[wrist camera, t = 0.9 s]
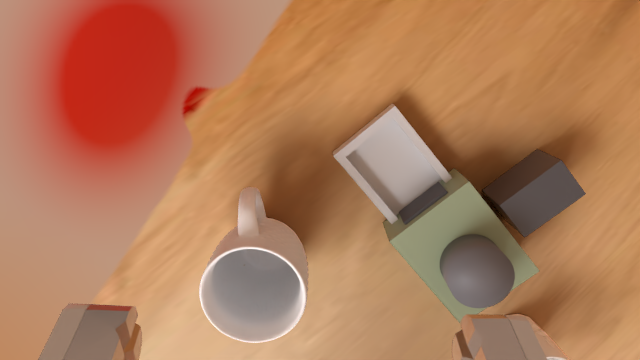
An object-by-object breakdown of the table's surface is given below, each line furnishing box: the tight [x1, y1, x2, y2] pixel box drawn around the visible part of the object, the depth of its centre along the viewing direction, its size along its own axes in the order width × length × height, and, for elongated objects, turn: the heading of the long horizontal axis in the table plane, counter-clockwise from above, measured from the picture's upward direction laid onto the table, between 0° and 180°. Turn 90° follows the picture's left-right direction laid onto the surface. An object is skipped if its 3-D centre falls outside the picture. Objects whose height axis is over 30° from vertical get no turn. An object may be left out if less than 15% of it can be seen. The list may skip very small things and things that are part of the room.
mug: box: [199, 187, 308, 343], centre depth 53 cm, size 15×11×13 cm
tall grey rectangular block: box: [483, 149, 586, 237], centre depth 55 cm, size 5×8×6 cm, turn 130°
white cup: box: [511, 314, 570, 360], centre depth 58 cm, size 8×8×10 cm
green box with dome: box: [333, 104, 539, 323], centre depth 53 cm, size 25×11×10 cm, turn 40°
